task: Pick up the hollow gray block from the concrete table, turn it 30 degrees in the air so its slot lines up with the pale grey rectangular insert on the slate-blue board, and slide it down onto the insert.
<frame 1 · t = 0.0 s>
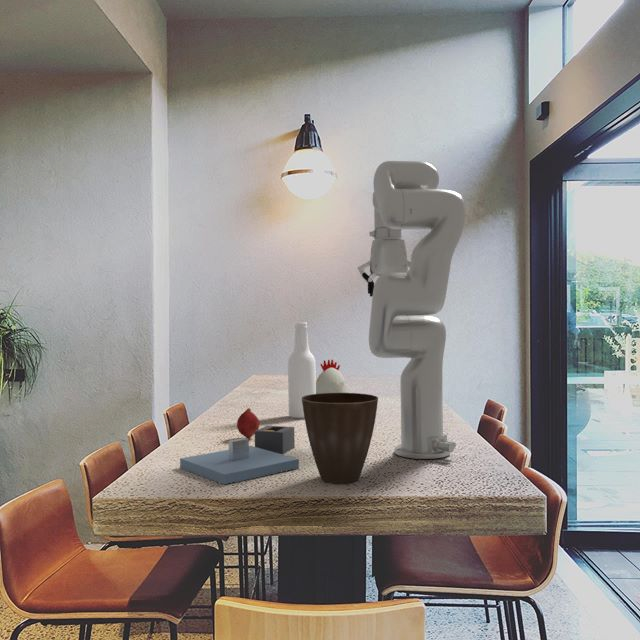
hand: (388, 296, 171), 37 cm above the table, tool pointing down, fingers open, 9 cm apart
base board: (239, 468, 128), on the table
pale grey rectangular insert: (238, 449, 128), on the base board, point 4 cm above the table
alcohol: (302, 417, 193), on the table
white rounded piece: (331, 398, 237), on the table
plant pot: (341, 479, 119), on the table
onion: (248, 439, 159), on the table
hollow gray block: (275, 449, 145), on the table
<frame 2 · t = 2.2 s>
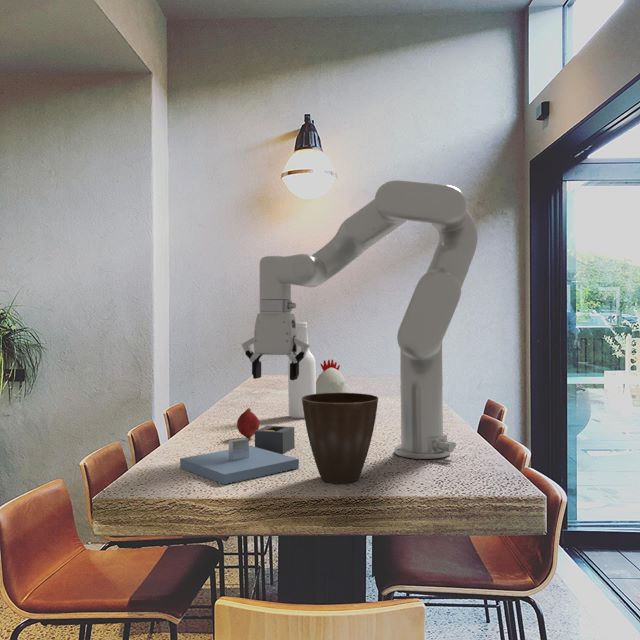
hand: (275, 378, 146), 17 cm above the table, tool pointing down, fingers open, 9 cm apart
nothing on the table moved.
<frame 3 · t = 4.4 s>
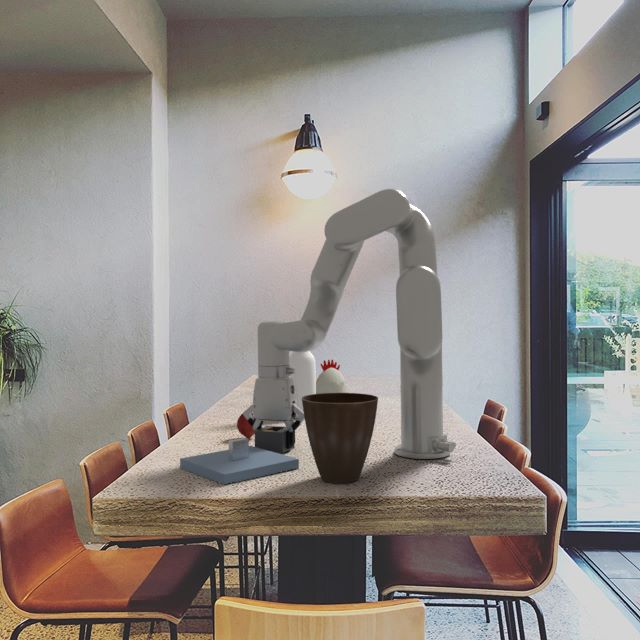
hand: (274, 446, 145), 1 cm above the table, tool pointing down, fingers closed on hollow gray block, 7 cm apart
hollow gray block: (275, 449, 145), on the table, touching gripper
everything else where it was.
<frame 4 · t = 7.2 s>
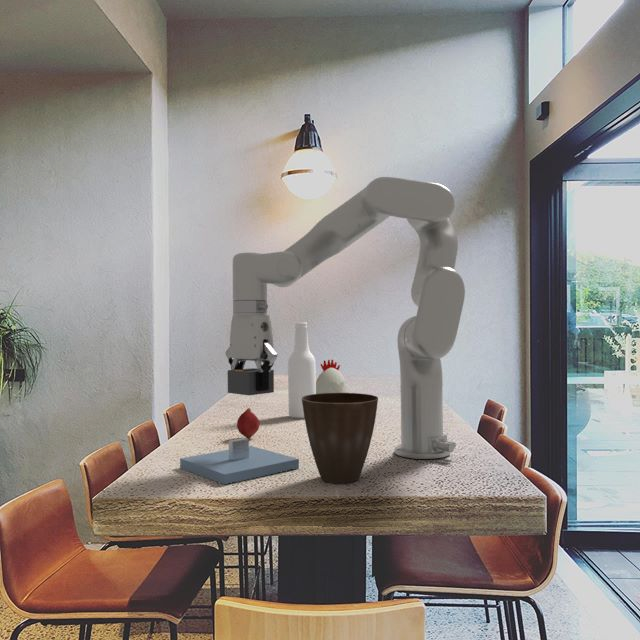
hand: (250, 388, 134), 16 cm above the table, tool pointing down, fingers closed on hollow gray block, 7 cm apart
hollow gray block: (250, 392, 134), point 15 cm above the table, touching gripper
everything else where it was.
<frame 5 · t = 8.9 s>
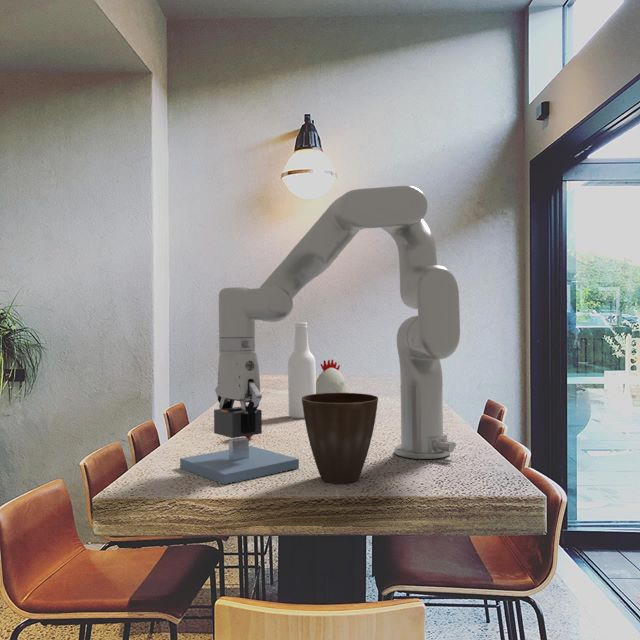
hand: (237, 429, 128), 8 cm above the table, tool pointing down, fingers closed on hollow gray block, 7 cm apart
hollow gray block: (237, 433, 128), point 7 cm above the table, touching gripper
everything else where it was.
when the fingers open (4 cm above the table, at t = 10.4 s): hollow gray block stays where it is, resting on base board.
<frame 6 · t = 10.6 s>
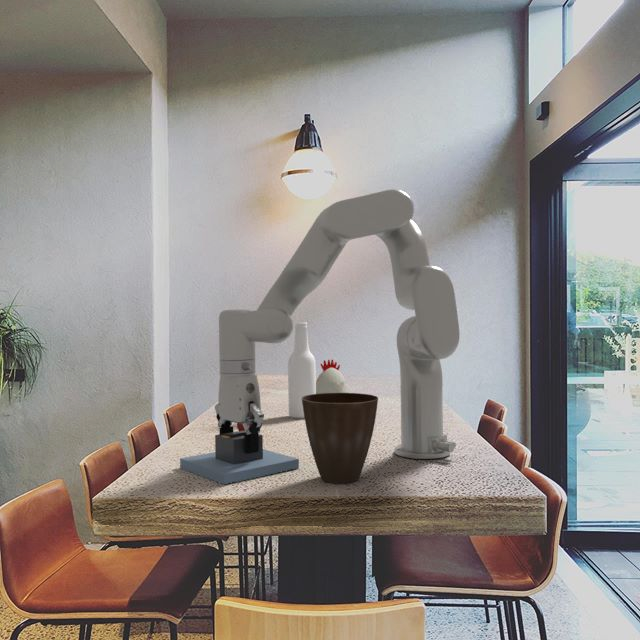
hand: (238, 448, 128), 4 cm above the table, tool pointing down, fingers open, 9 cm apart
hollow gray block: (239, 458, 128), point 2 cm above the table, touching base board
everything else where it was.
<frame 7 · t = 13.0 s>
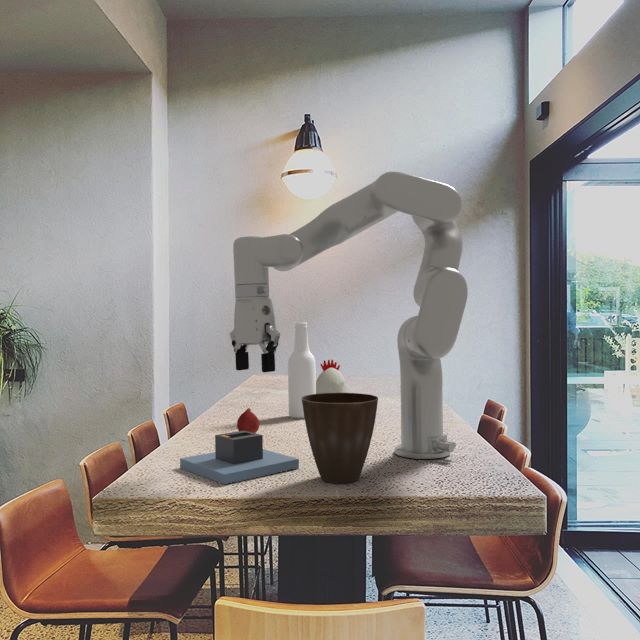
hand: (255, 370, 134), 20 cm above the table, tool pointing down, fingers open, 9 cm apart
nothing on the table moved.
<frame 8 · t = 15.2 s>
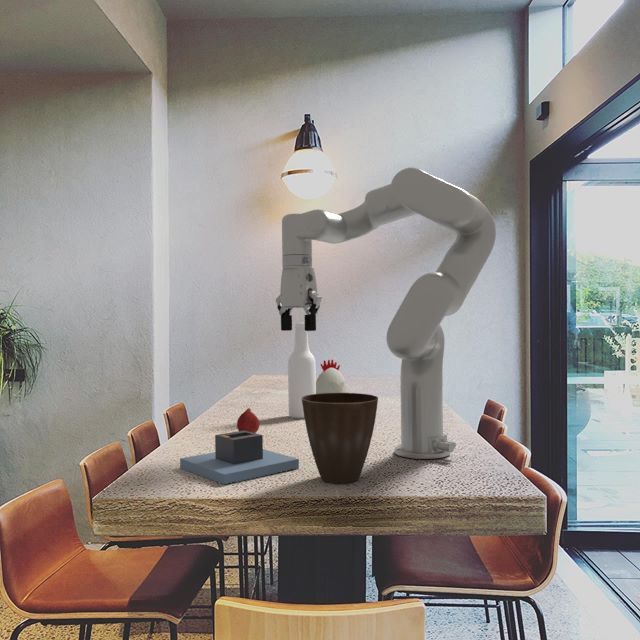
hand: (298, 330, 154), 28 cm above the table, tool pointing down, fingers open, 9 cm apart
nothing on the table moved.
at the end: hollow gray block 0.0 cm off-centre on the pale grey rectangular insert, point 2.0 cm above the pale grey rectangular insert's base; hollow gray block tilted 0°; the gripper is holding nothing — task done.
